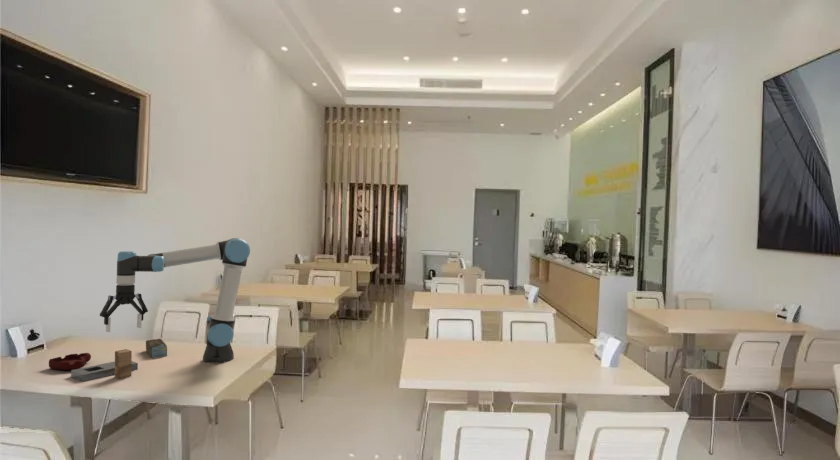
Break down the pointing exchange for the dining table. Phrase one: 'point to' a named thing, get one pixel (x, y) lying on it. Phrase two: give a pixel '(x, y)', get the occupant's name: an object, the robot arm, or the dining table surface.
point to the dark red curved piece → (70, 361)
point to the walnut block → (123, 363)
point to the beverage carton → (156, 348)
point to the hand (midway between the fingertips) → (123, 329)
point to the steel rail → (97, 371)
